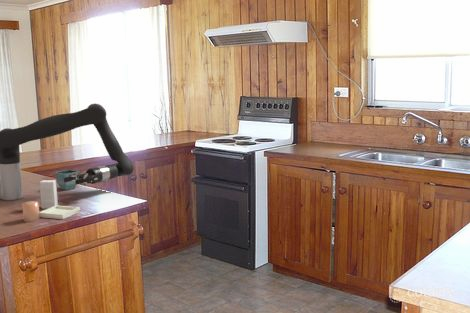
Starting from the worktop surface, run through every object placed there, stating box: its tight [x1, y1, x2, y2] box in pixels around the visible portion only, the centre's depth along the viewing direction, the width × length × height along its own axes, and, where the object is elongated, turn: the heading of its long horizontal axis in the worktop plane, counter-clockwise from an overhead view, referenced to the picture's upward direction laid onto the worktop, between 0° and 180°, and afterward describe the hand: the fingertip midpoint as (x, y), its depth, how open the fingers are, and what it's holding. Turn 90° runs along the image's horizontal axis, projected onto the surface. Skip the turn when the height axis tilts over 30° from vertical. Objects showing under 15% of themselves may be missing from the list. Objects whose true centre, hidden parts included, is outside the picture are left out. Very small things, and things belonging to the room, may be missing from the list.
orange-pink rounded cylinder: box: [22, 200, 41, 223], centre depth 204 cm, size 6×6×7 cm
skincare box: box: [39, 179, 59, 210], centre depth 222 cm, size 6×4×12 cm
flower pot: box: [54, 169, 80, 191], centre depth 257 cm, size 9×9×9 cm
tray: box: [39, 204, 81, 220], centre depth 212 cm, size 12×12×2 cm
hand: (70, 181), depth 230 cm, fingers open, 8 cm apart
